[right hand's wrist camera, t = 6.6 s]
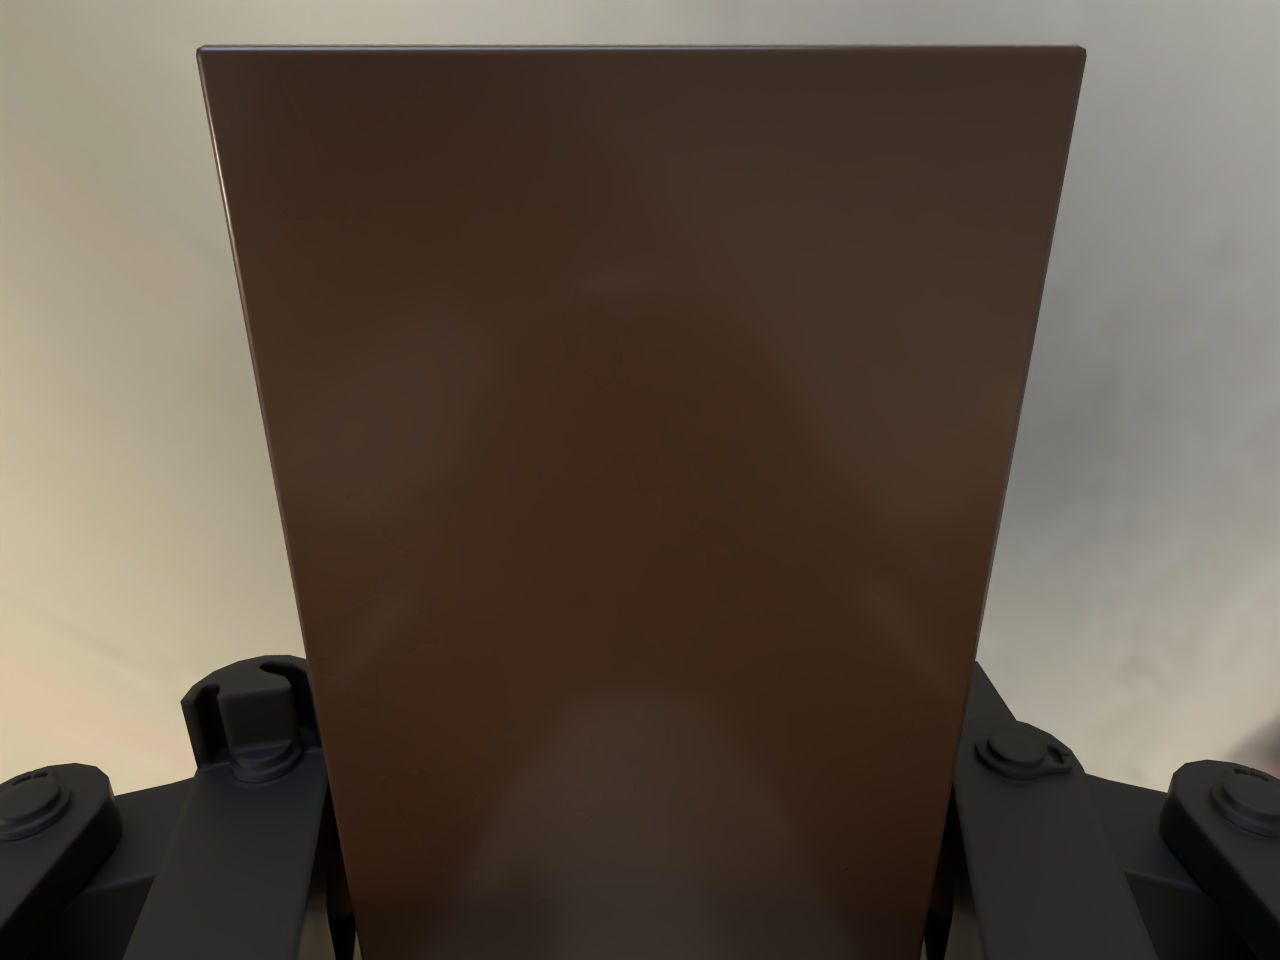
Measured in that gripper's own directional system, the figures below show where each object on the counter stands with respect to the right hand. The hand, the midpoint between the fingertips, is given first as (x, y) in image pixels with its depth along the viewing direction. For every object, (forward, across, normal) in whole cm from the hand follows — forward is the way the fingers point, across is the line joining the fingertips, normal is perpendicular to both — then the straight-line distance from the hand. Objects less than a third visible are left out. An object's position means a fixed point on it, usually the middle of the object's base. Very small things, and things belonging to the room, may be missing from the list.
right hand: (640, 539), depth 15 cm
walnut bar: (0, 0, -10) cm, 10 cm away
